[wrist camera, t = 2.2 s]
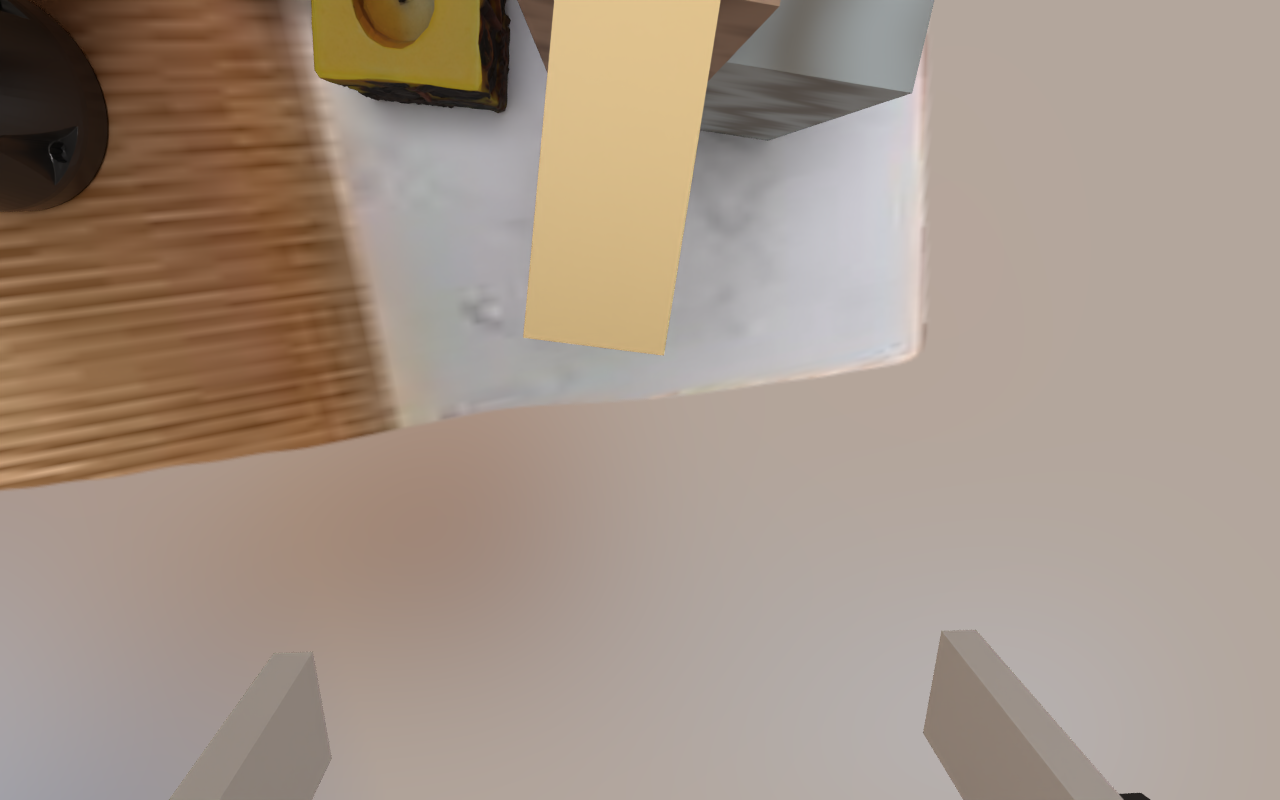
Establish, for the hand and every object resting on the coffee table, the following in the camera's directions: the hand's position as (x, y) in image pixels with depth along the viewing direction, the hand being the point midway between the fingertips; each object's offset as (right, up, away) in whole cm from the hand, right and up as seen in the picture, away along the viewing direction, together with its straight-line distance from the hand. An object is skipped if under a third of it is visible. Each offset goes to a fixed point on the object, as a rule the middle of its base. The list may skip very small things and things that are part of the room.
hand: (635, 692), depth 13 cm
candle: (-14, +33, +33) cm, 49 cm away
